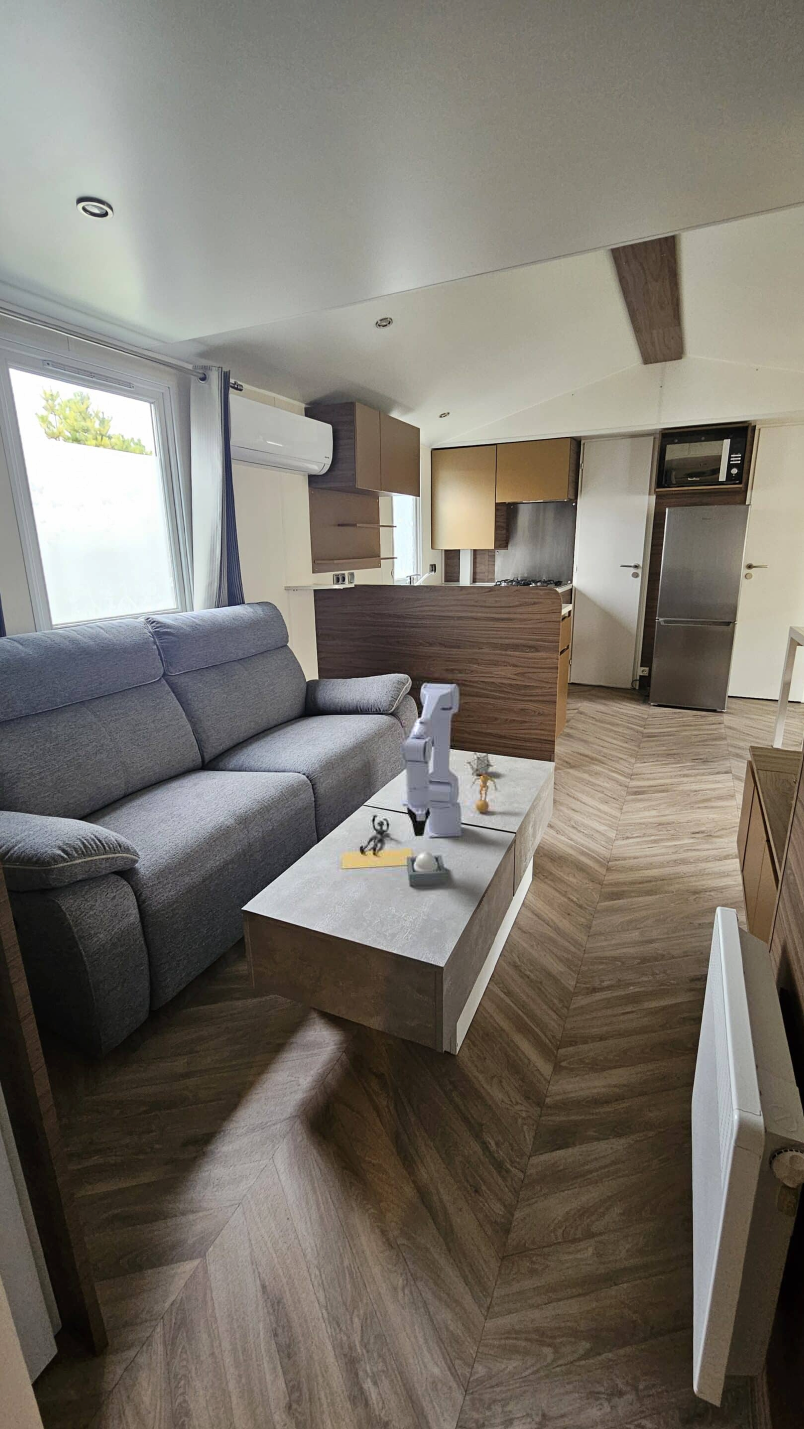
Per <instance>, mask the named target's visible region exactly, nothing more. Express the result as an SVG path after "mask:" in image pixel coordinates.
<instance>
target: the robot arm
mask: <svg viewBox="0 0 804 1429" xmlns="http://www.w3.org/2000/svg"><path fill="white" fill-rule="evenodd" d="M420 701H421V704H422V706H423V708H422V712H421V717H420V718H417V719H416V720H415V722H414V725H413V727H412V730H411V732H410V736H409V737H408V738H407V739H406V740H405V739H404V741H403V742H402V747H401V758H402V761H403V768H404V769H405V784H406V785H405V786H406V788H405V789H406V791H405V792H406V799H405V800H402V803H401V805H402V807H406V811H407V816H408V817H409V820H410V821H411V824H412V830H413V834H414V836H415V837H423V836H424V834H425V830H427V835H428V837H429V838H443V837H461V836H462V835H463V834H462V808H461V802H459V801H458V800H459V796H460V795H459V794H460V789H459V788H460V786H459V777H458V776H457V775H456V774H455V773H453V772H452V771H451V770H450V756H451V755H450V753H451V750H450V749H451V729H452V728H451V727H452V724H451V723H452V717H453V715H454V714H456V713H457V712H458V711H459V706H460V705H459V703H460V690H459V686H458V685H457V684H456V683H454V684H448V683H427V682H425V683H423V684H422V685H421V689H420ZM432 751H433V754H432ZM431 759H432V770H430V761H431ZM427 821H428V823H427Z"/></svg>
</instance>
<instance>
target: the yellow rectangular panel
mask: <svg viewBox="0 0 804 1429" xmlns="http://www.w3.org/2000/svg"><path fill="white" fill-rule="evenodd" d="M407 857H414V854H413V848H399V849H396V848H395V849H384V850H383V849H382V850H380V849H379V850H376V854H375V855H373V850H365V851H364V853H363V854H361V852H360V851H345V852H342V860H341V870H349V869H364V868H367V869H368V868H380V867H382V868H383V867H384V868H385V867H400V866H401V867H402V866H407Z"/></svg>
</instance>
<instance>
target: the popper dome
mask: <svg viewBox="0 0 804 1429" xmlns="http://www.w3.org/2000/svg"><path fill="white" fill-rule="evenodd" d="M417 856H418V857H417V858H416V862H415V863H414V872H427V871H438V864H437V862H436V860H435V858H434V855H433V854H432V853H430V852H427V851H426V852H424V851H423V852H421V853H419V854H418V855H417Z"/></svg>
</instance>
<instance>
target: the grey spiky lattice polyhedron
mask: <svg viewBox="0 0 804 1429" xmlns="http://www.w3.org/2000/svg"><path fill="white" fill-rule="evenodd" d="M466 763H467V764H468V765H469V767H470V768H471V771H472V773H471V776H473V775H475V774H476V775H481V776H483V774H486V775H487V772H488V771H489V770H490V768H491V767H492V768H493V767H494V765H492V764H491V762H490V759H489V753H487V754H480V753H479V754H478V753H476V752H474V755H473V757H472V758H471V760H470V761H467V762H466Z"/></svg>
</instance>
